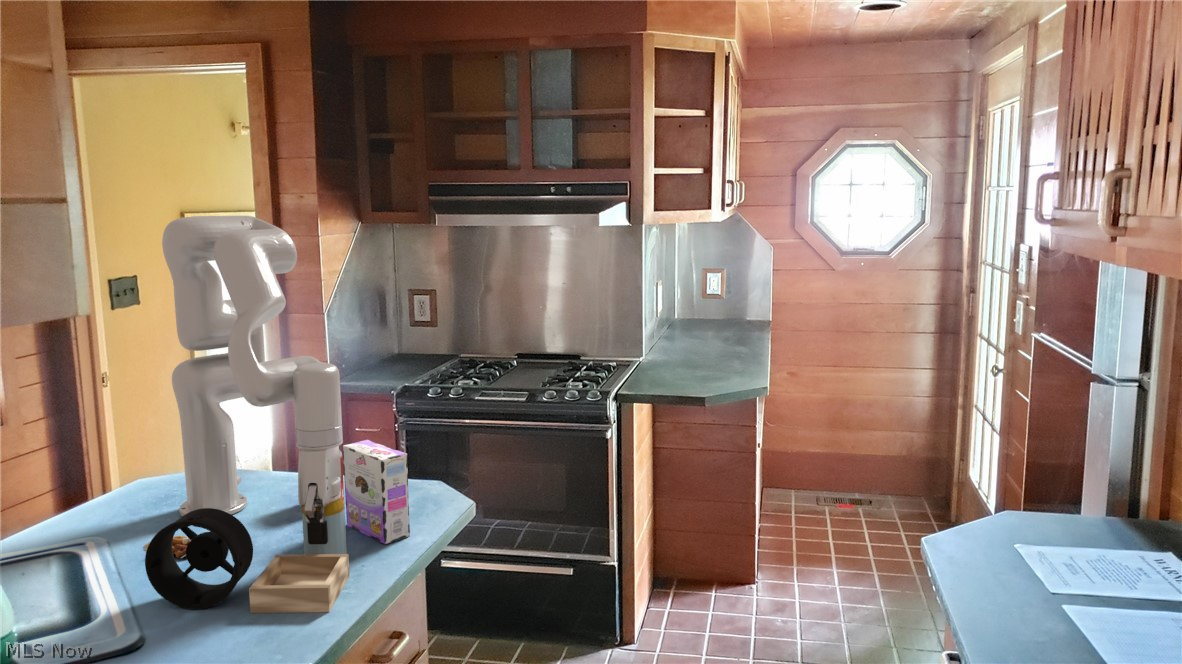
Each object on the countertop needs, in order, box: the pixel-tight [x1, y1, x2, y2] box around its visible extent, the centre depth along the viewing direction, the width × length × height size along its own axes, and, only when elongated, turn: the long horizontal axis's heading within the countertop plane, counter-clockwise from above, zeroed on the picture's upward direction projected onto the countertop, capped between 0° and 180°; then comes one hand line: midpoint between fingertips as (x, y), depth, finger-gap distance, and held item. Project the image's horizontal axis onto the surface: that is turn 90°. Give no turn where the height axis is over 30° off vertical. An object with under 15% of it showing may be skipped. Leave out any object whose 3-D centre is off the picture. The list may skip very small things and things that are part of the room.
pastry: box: [142, 535, 191, 559], centre depth 147 cm, size 7×12×4 cm, turn 76°
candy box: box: [342, 439, 411, 545], centre depth 155 cm, size 14×6×16 cm, turn 47°
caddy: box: [248, 553, 350, 614], centre depth 131 cm, size 12×12×4 cm
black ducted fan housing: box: [144, 508, 254, 610], centre depth 130 cm, size 14×14×10 cm
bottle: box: [301, 477, 348, 554], centre depth 141 cm, size 7×7×15 cm
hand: (324, 533), depth 142 cm, fingers closed on bottle, 7 cm apart
